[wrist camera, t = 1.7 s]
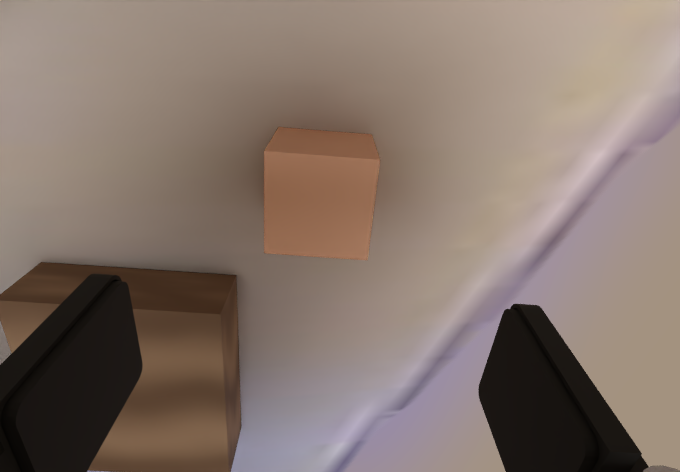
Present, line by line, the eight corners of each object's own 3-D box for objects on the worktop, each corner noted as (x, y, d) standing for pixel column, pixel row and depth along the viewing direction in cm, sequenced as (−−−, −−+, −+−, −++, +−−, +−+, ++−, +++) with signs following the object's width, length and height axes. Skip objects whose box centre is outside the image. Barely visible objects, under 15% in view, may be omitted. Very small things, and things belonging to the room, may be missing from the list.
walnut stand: (241, 427, 32) (229, 476, 29) (84, 419, 32) (52, 468, 28) (236, 275, 26) (220, 314, 23) (41, 262, 26) (-7, 300, 22)
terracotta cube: (361, 218, 25) (367, 260, 20) (277, 212, 24) (264, 253, 20) (371, 134, 22) (380, 159, 18) (278, 126, 22) (264, 150, 18)
